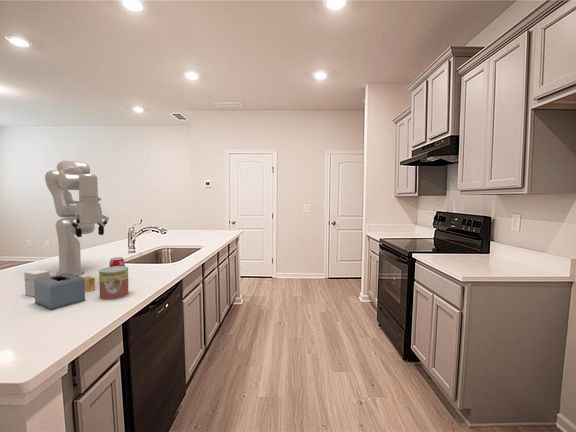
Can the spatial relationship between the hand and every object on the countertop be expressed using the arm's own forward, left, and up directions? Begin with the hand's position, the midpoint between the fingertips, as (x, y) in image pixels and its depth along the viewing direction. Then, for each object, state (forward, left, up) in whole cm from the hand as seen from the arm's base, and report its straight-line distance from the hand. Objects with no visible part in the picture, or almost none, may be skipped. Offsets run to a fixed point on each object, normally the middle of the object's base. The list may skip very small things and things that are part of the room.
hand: (90, 235), depth 137 cm
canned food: (+20, 0, -26) cm, 32 cm away
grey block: (+9, -17, -25) cm, 32 cm away
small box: (-9, -18, -26) cm, 32 cm away
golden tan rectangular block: (+3, -3, -25) cm, 26 cm away
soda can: (0, +12, -26) cm, 28 cm away
